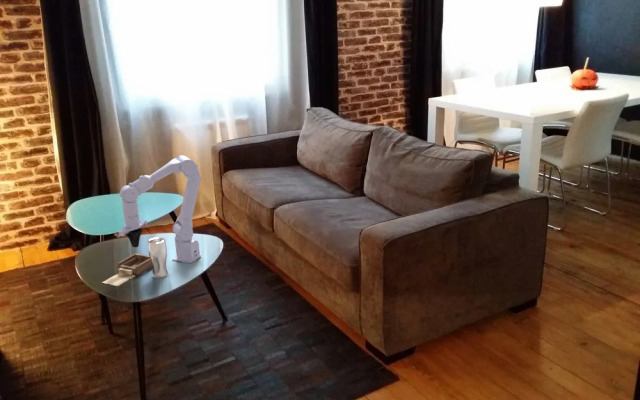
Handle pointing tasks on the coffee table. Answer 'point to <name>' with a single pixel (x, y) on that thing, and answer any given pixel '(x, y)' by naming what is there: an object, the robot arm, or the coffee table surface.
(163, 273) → the beer glass
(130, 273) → the lid
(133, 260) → the box
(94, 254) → the coffee table surface
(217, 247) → the coffee table surface
